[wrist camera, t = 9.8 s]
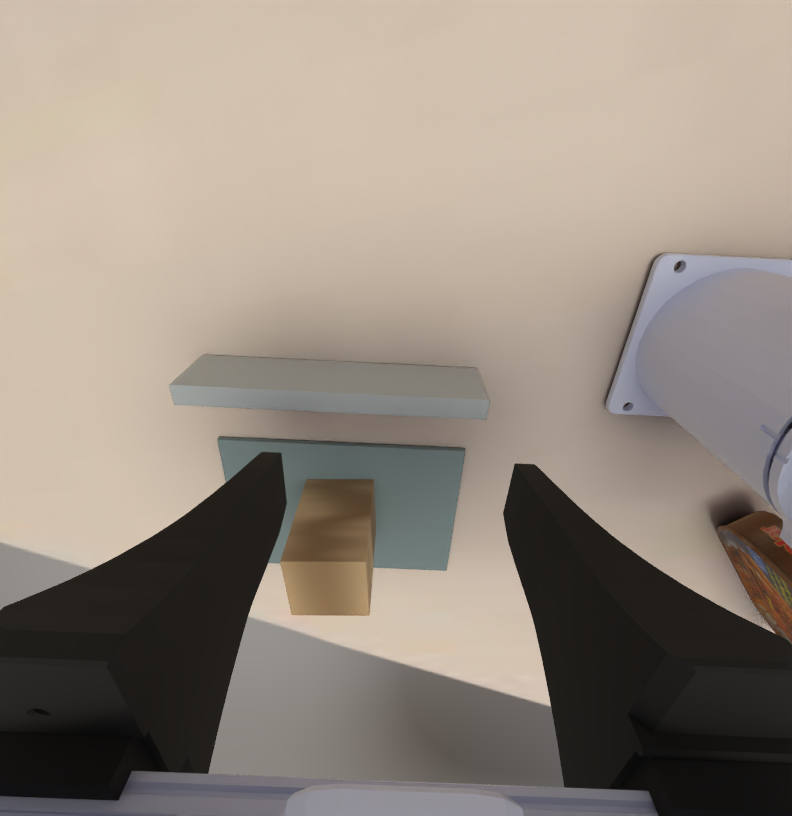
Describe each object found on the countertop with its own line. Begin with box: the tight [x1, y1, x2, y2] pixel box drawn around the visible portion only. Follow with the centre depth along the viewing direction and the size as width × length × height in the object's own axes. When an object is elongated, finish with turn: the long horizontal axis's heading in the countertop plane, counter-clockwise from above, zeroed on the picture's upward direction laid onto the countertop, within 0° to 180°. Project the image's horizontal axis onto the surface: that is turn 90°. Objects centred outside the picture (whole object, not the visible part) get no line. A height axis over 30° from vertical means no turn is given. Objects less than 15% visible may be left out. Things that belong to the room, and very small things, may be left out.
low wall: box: [169, 355, 490, 420], centre depth 20 cm, size 14×1×4 cm, turn 87°
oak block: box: [280, 479, 376, 616], centre depth 23 cm, size 4×4×6 cm
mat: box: [217, 437, 465, 571], centre depth 26 cm, size 14×10×1 cm
